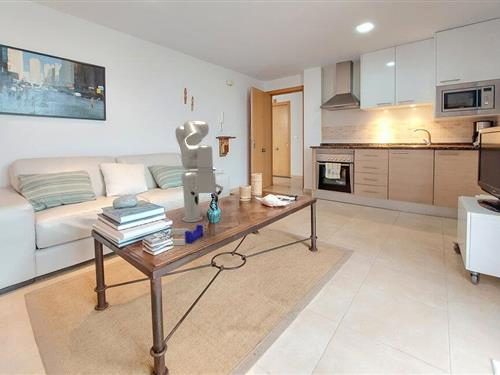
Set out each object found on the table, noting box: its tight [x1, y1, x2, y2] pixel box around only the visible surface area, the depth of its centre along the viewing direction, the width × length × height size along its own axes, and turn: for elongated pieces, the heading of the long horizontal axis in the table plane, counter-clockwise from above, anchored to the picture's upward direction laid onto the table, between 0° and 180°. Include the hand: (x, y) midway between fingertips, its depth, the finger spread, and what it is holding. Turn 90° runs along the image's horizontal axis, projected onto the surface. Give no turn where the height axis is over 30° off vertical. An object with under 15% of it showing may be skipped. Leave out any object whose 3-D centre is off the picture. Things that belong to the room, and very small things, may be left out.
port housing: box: [167, 227, 190, 247], centre depth 137 cm, size 17×10×3 cm, turn 6°
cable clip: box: [184, 224, 204, 244], centre depth 138 cm, size 12×4×6 cm, turn 159°
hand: (206, 203), depth 136 cm, fingers open, 9 cm apart
